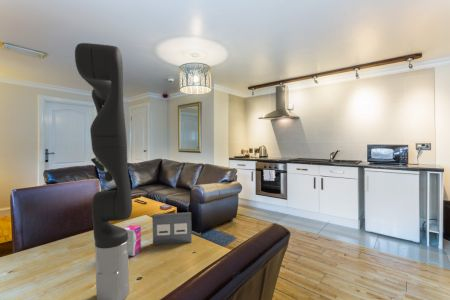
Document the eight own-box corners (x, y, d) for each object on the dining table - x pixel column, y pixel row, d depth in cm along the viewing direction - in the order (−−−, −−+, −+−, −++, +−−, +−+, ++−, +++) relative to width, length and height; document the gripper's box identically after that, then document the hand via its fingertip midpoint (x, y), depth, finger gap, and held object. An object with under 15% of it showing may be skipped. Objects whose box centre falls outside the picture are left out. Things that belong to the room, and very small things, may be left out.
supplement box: (133, 257, 95) (133, 230, 95) (121, 256, 97) (120, 229, 96) (141, 250, 101) (141, 225, 101) (129, 249, 102) (129, 224, 102)
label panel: (191, 242, 109) (191, 213, 108) (152, 245, 106) (152, 215, 106) (191, 240, 111) (191, 212, 111) (153, 243, 109) (153, 214, 108)
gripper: (86, 138, 86) (87, 183, 86) (122, 137, 88) (123, 182, 88) (94, 138, 93) (96, 180, 94) (128, 138, 95) (129, 179, 96)
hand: (109, 181), depth 91 cm, fingers closed
